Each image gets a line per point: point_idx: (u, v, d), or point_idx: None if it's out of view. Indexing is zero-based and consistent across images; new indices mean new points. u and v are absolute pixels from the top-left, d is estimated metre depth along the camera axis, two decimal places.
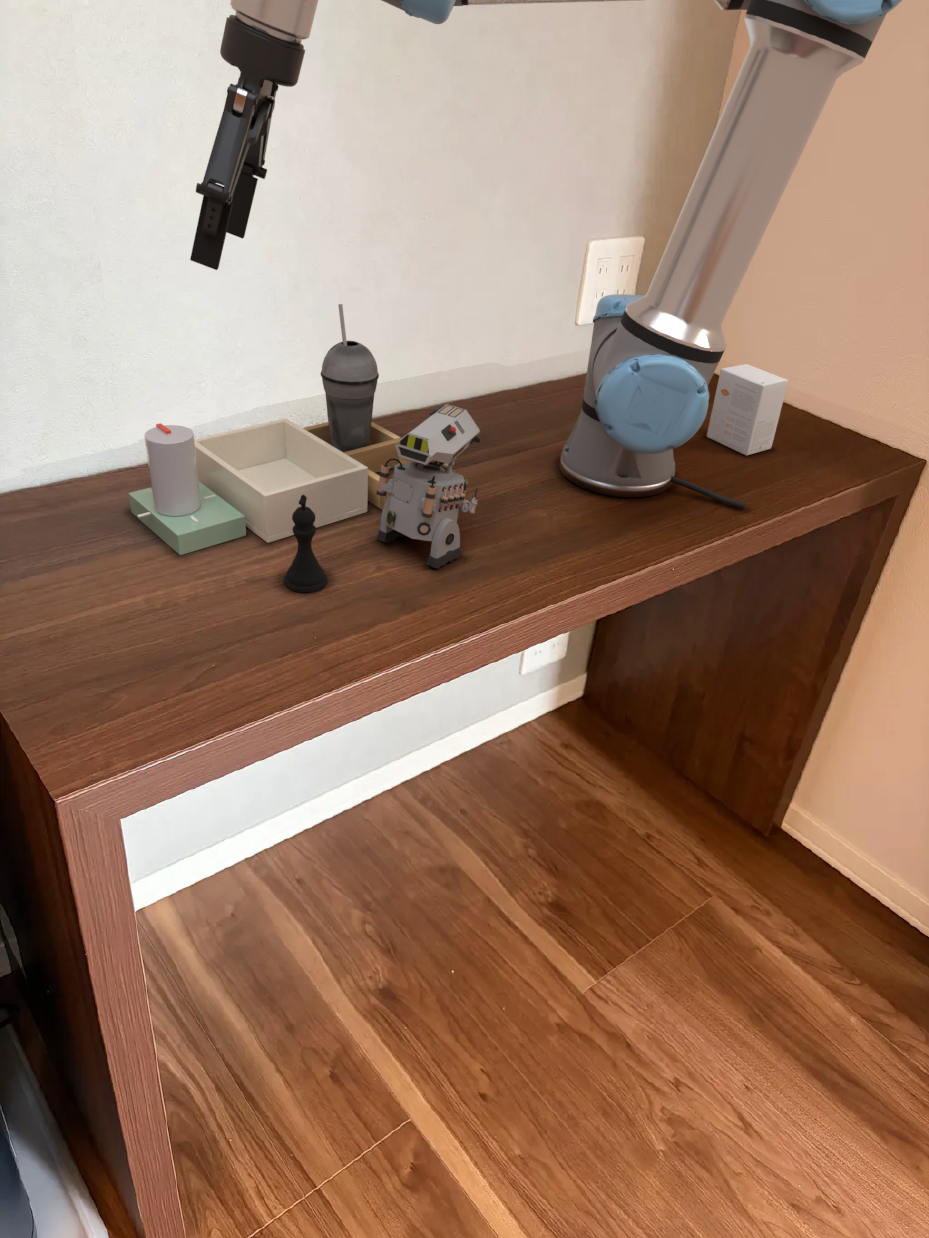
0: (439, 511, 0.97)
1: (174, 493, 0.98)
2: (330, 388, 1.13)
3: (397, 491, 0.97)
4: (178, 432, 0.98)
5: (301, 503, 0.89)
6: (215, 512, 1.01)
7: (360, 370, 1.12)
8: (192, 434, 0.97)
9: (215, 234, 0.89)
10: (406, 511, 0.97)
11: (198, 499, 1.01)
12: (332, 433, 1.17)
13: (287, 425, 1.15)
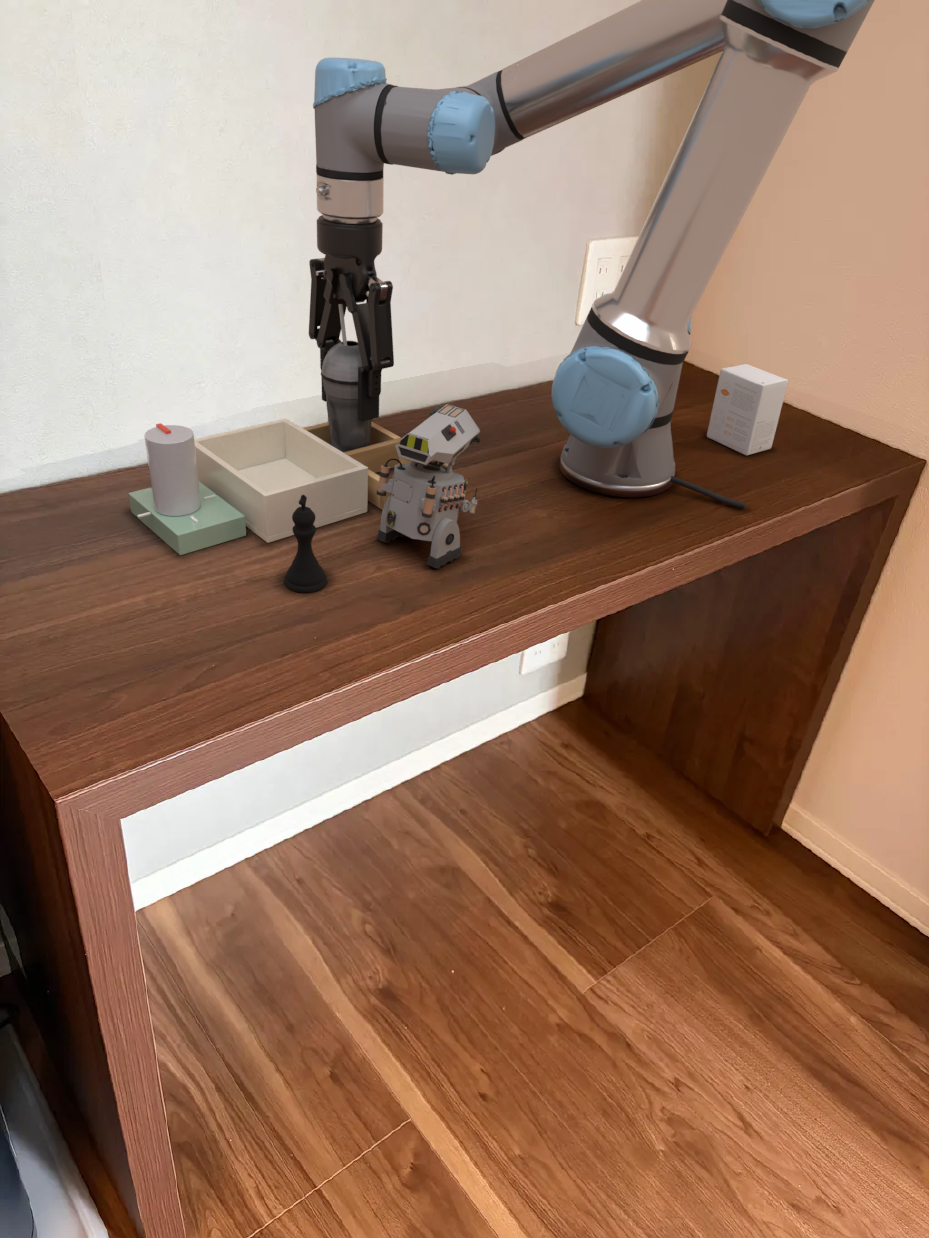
0: (439, 511, 0.97)
1: (174, 493, 0.98)
2: (330, 388, 1.13)
3: (397, 491, 0.97)
4: (178, 432, 0.98)
5: (301, 503, 0.89)
6: (215, 512, 1.01)
7: None
8: (192, 434, 0.97)
9: (379, 393, 1.12)
10: (406, 511, 0.97)
11: (198, 499, 1.01)
12: (332, 433, 1.17)
13: (287, 425, 1.15)
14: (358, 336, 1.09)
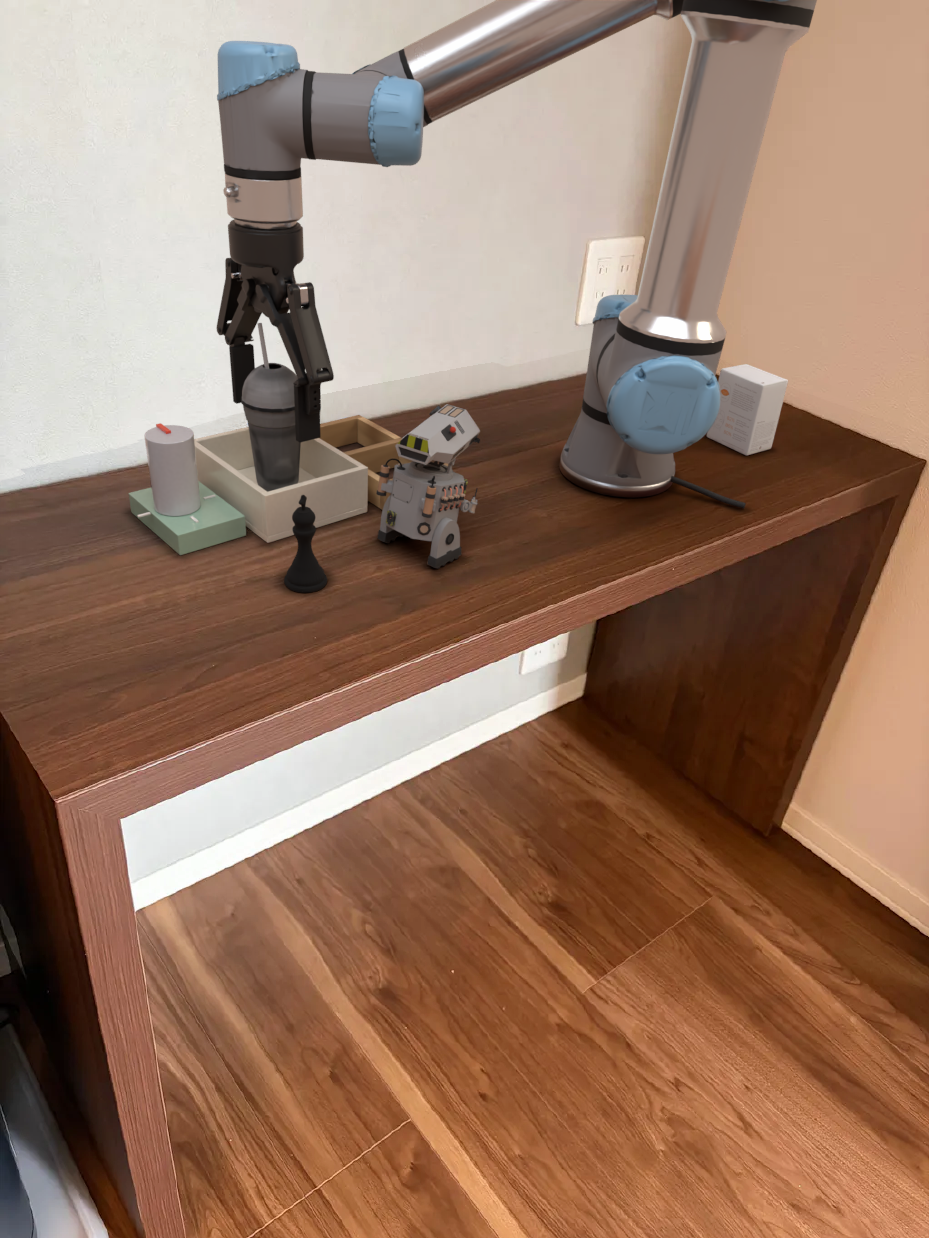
0: (439, 511, 0.97)
1: (174, 493, 0.98)
2: (250, 416, 1.02)
3: (397, 491, 0.97)
4: (178, 432, 0.98)
5: (301, 503, 0.89)
6: (215, 512, 1.01)
7: (283, 396, 1.01)
8: (192, 434, 0.97)
9: (319, 410, 0.98)
10: (406, 511, 0.97)
11: (198, 499, 1.01)
12: (256, 464, 1.06)
13: None
14: (288, 349, 0.96)
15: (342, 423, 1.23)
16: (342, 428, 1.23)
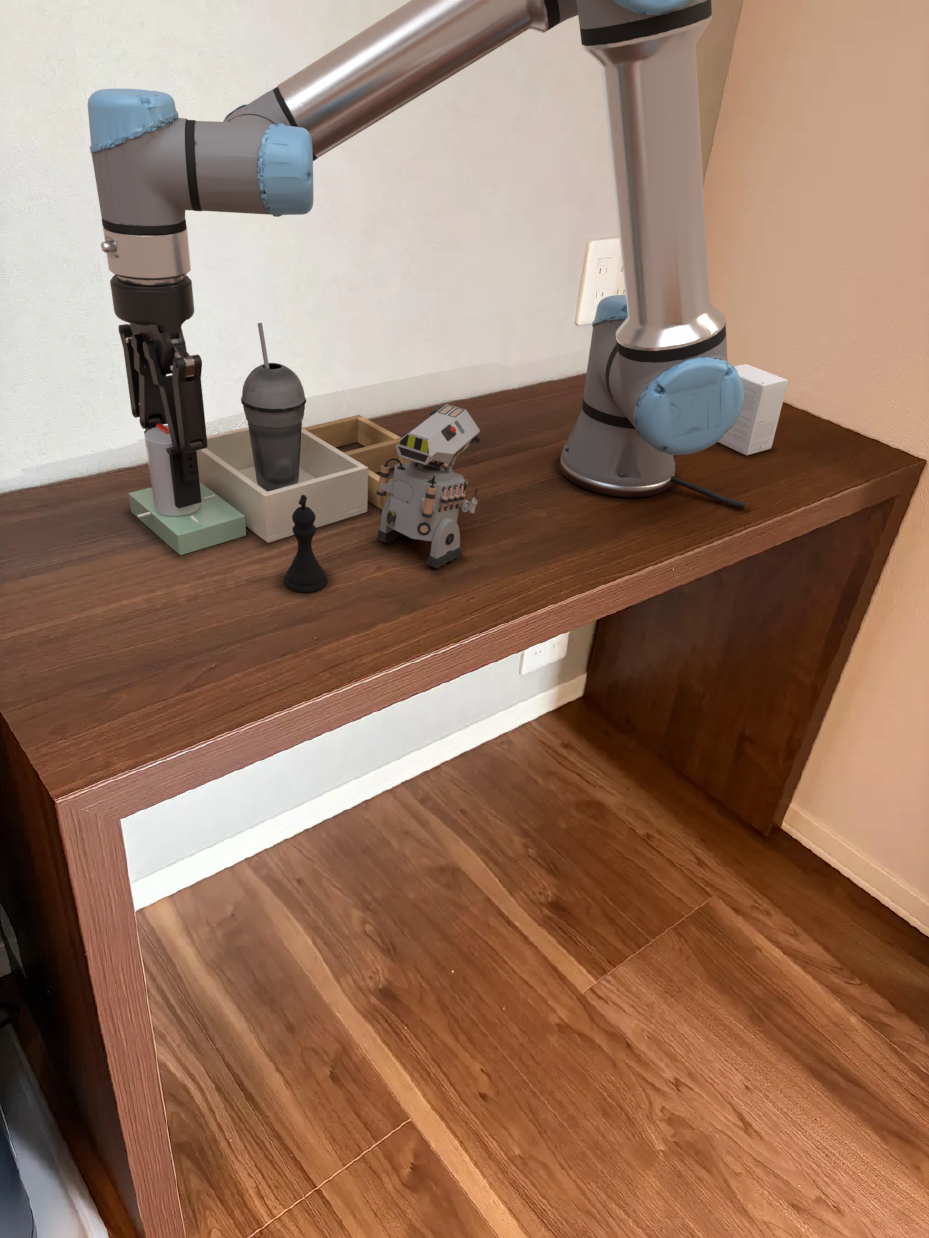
0: (439, 511, 0.97)
1: None
2: (251, 415, 1.02)
3: (397, 491, 0.97)
4: None
5: (301, 503, 0.89)
6: (215, 512, 1.01)
7: (283, 396, 1.01)
8: None
9: (196, 476, 0.97)
10: (406, 511, 0.97)
11: None
12: (256, 464, 1.06)
13: None
14: (166, 413, 0.93)
15: (342, 423, 1.23)
16: (342, 428, 1.23)
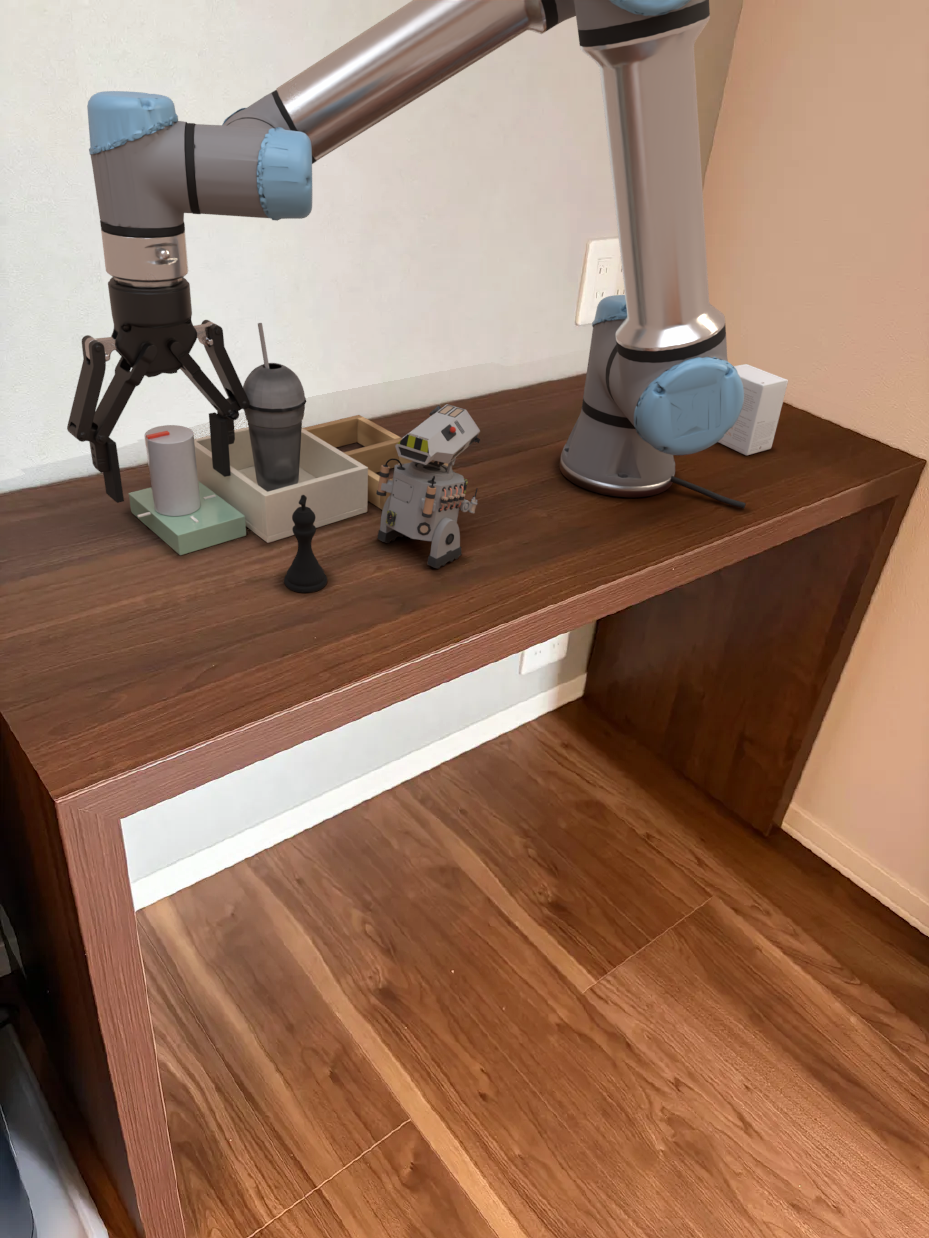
0: (439, 511, 0.97)
1: (198, 482, 1.01)
2: (251, 415, 1.02)
3: (397, 491, 0.97)
4: (166, 430, 0.98)
5: (301, 503, 0.89)
6: (215, 512, 1.01)
7: (283, 396, 1.01)
8: (171, 425, 0.99)
9: None
10: (406, 511, 0.97)
11: None
12: (256, 464, 1.06)
13: None
14: (210, 392, 0.97)
15: (342, 423, 1.23)
16: (342, 428, 1.23)
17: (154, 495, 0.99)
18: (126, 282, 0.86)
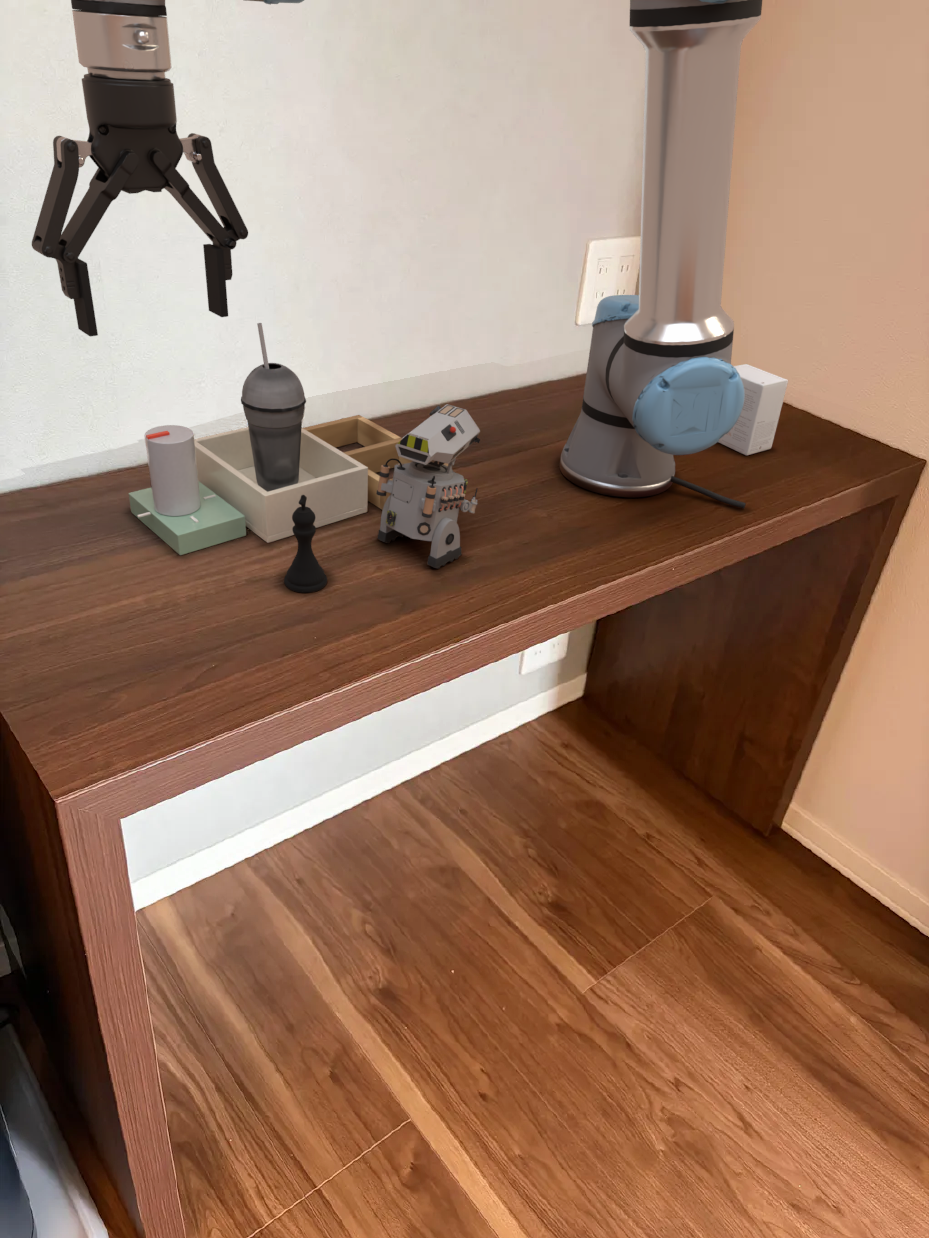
0: (439, 511, 0.97)
1: (198, 482, 1.01)
2: (250, 416, 1.02)
3: (397, 491, 0.97)
4: (166, 430, 0.98)
5: (301, 503, 0.89)
6: (215, 512, 1.01)
7: (283, 396, 1.01)
8: (171, 425, 0.99)
9: None
10: (406, 511, 0.97)
11: None
12: (256, 464, 1.06)
13: None
14: (202, 215, 0.88)
15: (342, 423, 1.23)
16: (342, 428, 1.23)
17: (154, 495, 0.99)
18: (101, 73, 0.76)
